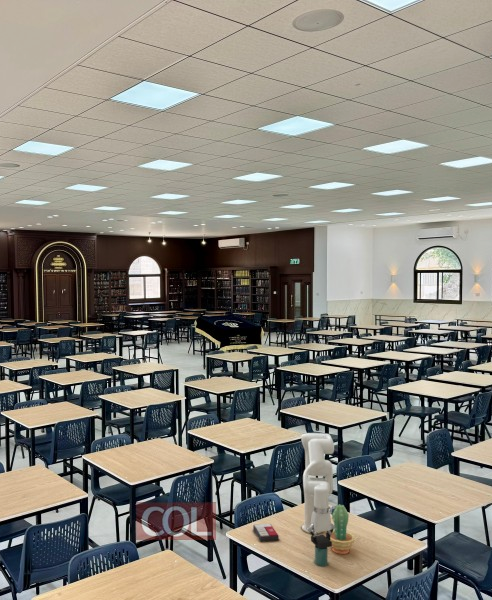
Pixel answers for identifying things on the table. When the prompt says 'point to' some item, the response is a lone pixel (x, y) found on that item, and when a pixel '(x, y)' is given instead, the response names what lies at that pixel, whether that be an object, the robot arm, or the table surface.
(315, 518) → the robot arm
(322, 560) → the cup
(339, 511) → the potted cactus
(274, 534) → the calculator
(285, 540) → the table surface
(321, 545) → the black box
